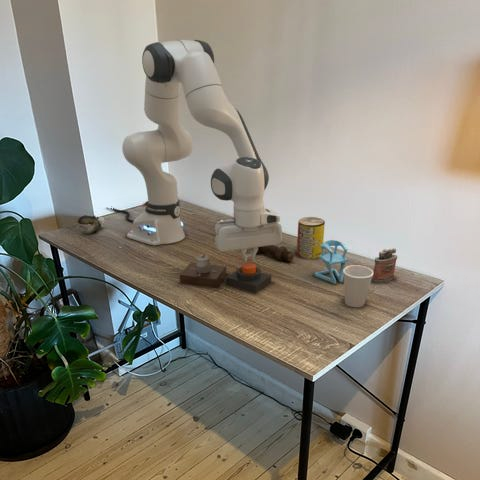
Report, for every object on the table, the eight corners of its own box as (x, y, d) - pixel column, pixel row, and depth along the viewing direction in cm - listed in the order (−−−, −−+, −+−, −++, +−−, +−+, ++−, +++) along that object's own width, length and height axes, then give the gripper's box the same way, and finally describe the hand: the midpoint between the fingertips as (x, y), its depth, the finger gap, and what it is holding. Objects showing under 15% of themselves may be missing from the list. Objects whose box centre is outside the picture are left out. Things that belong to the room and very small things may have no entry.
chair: (328, 285, 153) (331, 249, 147) (314, 275, 160) (316, 240, 154) (349, 281, 156) (353, 245, 150) (334, 271, 162) (337, 236, 156)
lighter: (376, 284, 154) (380, 254, 149) (369, 280, 156) (373, 250, 151) (396, 278, 157) (401, 249, 152) (389, 274, 160) (393, 245, 154)
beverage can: (295, 248, 179) (297, 216, 173) (320, 249, 179) (323, 216, 173) (297, 258, 171) (299, 225, 165) (323, 258, 171) (326, 225, 165)
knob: (207, 273, 154) (206, 259, 152) (194, 272, 155) (193, 258, 153) (212, 268, 158) (211, 254, 155) (199, 266, 159) (198, 253, 157)
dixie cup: (348, 293, 149) (352, 262, 144) (374, 301, 144) (378, 270, 139) (334, 303, 143) (337, 272, 138) (360, 312, 138) (364, 280, 133)
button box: (226, 284, 154) (225, 271, 152) (242, 274, 161) (242, 261, 158) (255, 293, 149) (255, 280, 147) (271, 282, 155) (271, 269, 153)
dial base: (180, 283, 155) (179, 274, 154) (191, 270, 164) (191, 261, 162) (216, 288, 152) (216, 278, 151) (226, 274, 161) (226, 265, 159)
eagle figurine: (90, 222, 202) (74, 225, 195) (97, 209, 199) (80, 211, 191) (102, 235, 201) (86, 238, 194) (109, 222, 197) (93, 224, 190)
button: (238, 272, 152) (238, 266, 151) (246, 267, 155) (246, 261, 154) (250, 275, 150) (250, 269, 149) (258, 270, 153) (258, 264, 152)
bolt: (289, 268, 169) (257, 255, 178) (298, 257, 170) (265, 245, 179) (285, 257, 164) (252, 244, 173) (294, 246, 166) (261, 234, 175)
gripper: (217, 224, 138) (219, 269, 145) (285, 216, 144) (283, 260, 151) (211, 217, 144) (213, 261, 150) (276, 209, 149) (275, 252, 156)
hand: (248, 260), depth 151 cm, fingers closed
